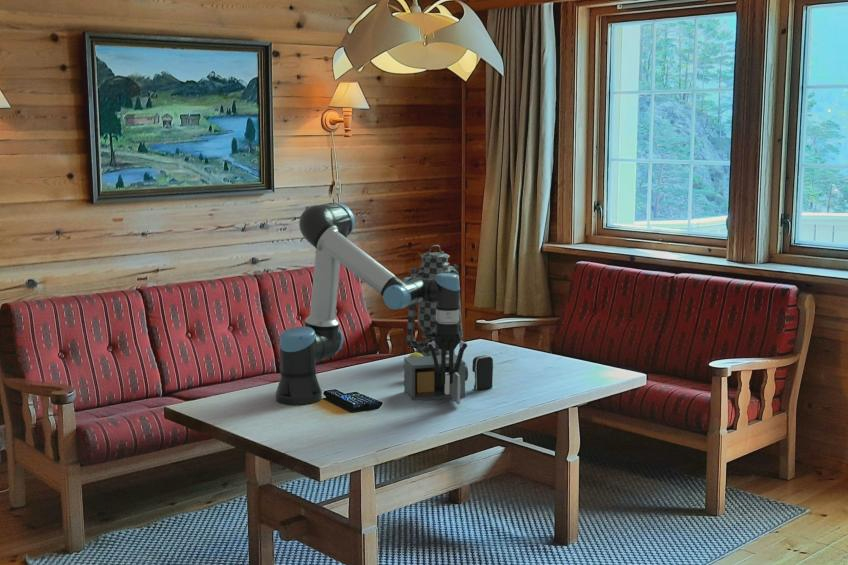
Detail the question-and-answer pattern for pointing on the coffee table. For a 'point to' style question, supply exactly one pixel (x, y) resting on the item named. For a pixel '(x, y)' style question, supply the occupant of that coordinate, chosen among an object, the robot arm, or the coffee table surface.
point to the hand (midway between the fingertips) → (446, 393)
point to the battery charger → (483, 372)
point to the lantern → (427, 310)
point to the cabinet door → (455, 388)
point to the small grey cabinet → (429, 378)
